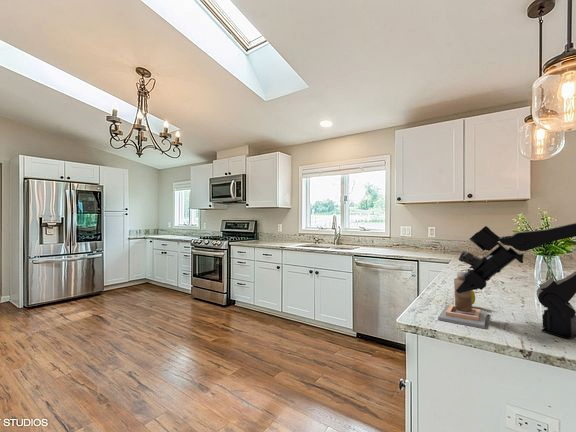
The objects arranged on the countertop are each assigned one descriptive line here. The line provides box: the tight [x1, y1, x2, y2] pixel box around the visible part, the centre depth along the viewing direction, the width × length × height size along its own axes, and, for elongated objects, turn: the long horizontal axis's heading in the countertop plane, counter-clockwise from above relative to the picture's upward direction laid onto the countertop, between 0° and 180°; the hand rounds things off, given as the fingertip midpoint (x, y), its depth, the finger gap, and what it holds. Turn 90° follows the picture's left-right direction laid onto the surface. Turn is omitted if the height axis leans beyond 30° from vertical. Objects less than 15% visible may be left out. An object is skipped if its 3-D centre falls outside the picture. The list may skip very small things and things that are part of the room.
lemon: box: [471, 290, 476, 305], centre depth 108 cm, size 6×6×8 cm
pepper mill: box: [453, 271, 473, 312], centre depth 97 cm, size 5×5×13 cm
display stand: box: [437, 304, 488, 329], centre depth 97 cm, size 13×16×2 cm
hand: (458, 290), depth 98 cm, fingers closed on pepper mill, 5 cm apart
